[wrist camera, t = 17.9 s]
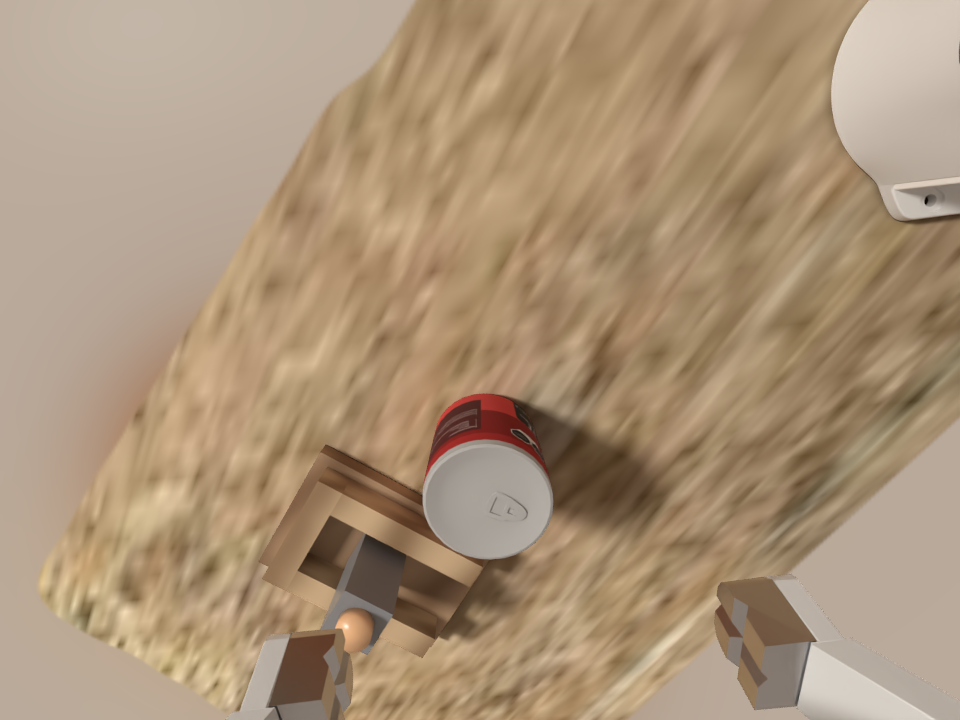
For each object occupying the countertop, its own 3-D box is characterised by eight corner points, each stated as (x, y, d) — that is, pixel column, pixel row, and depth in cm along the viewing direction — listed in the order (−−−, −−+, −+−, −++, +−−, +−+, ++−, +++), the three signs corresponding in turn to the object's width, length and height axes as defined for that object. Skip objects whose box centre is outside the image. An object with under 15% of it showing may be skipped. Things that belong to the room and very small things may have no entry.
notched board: (497, 536, 44) (499, 565, 41) (432, 634, 47) (428, 670, 43) (325, 444, 43) (310, 465, 39) (265, 551, 45) (245, 581, 41)
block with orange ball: (408, 546, 43) (390, 628, 34) (386, 580, 44) (363, 669, 35) (368, 525, 43) (340, 602, 34) (347, 560, 43) (314, 645, 34)
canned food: (529, 485, 43) (546, 566, 33) (431, 476, 43) (416, 555, 33) (541, 395, 42) (563, 450, 31) (438, 385, 42) (425, 437, 31)
